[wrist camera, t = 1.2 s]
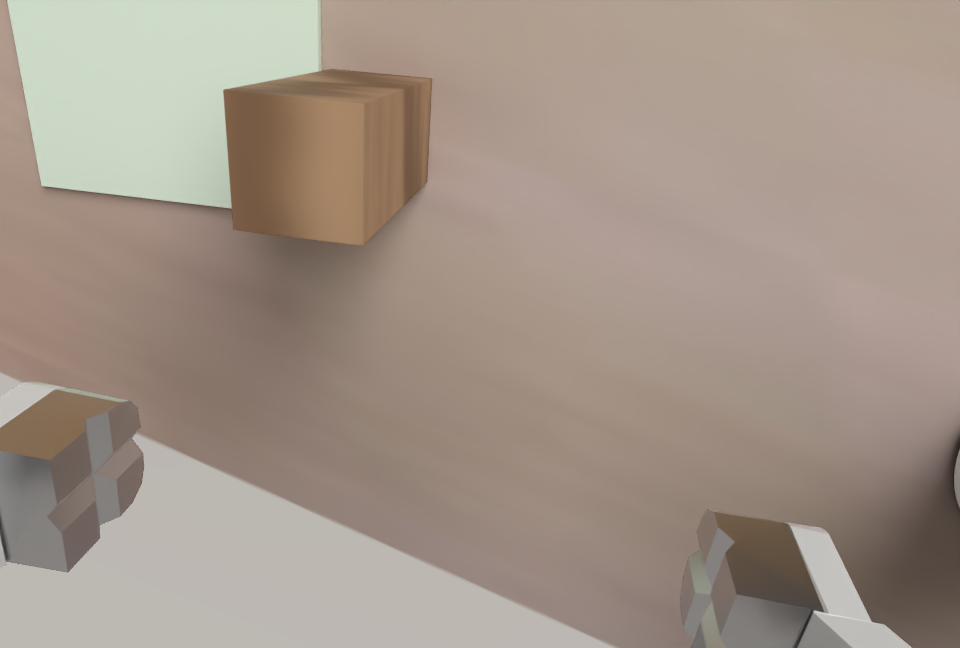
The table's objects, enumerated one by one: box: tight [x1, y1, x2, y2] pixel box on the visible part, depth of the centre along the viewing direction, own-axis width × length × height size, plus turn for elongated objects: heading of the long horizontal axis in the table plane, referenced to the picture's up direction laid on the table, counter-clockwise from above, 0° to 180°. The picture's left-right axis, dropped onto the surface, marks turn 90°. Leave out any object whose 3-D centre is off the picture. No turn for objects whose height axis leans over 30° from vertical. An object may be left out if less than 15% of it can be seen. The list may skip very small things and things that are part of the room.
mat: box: [7, 0, 322, 209], centre depth 34 cm, size 16×18×1 cm
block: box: [223, 69, 432, 246], centre depth 29 cm, size 5×5×11 cm
